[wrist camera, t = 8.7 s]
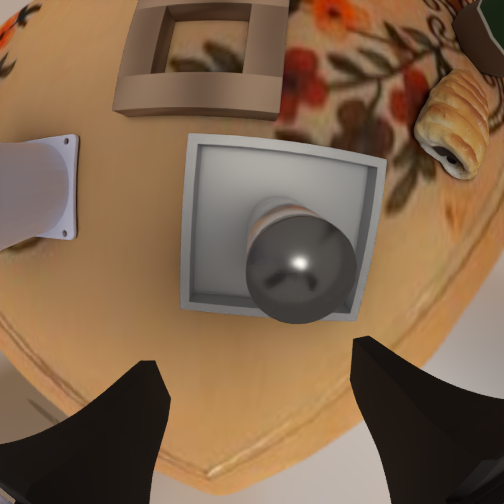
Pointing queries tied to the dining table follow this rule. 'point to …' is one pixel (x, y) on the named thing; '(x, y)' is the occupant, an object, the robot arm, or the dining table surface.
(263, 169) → the tray
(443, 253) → the dining table surface
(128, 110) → the eye block
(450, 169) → the pastry
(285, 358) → the dining table surface
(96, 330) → the dining table surface
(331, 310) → the steel pin
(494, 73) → the beer bottle
